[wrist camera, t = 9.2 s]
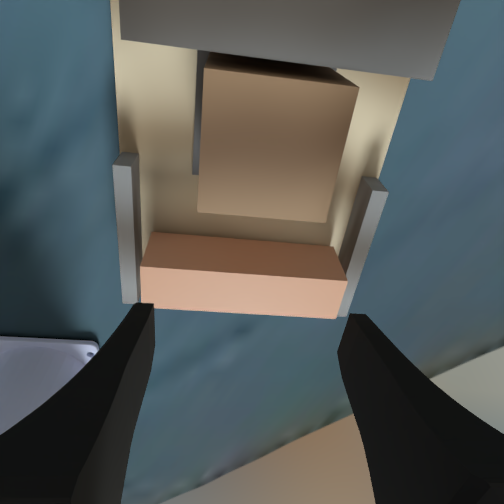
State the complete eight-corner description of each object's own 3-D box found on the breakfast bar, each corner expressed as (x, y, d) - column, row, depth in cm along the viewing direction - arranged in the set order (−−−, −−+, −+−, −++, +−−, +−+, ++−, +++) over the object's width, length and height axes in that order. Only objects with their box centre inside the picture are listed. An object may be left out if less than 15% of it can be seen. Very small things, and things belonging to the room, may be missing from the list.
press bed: (335, 285, 25) (363, 359, 20) (132, 271, 24) (105, 346, 19) (425, -8, 17) (514, -11, 11) (114, -57, 15) (54, -86, 10)
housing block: (304, 174, 19) (325, 223, 15) (204, 164, 19) (197, 212, 15) (326, 65, 17) (359, 87, 12) (210, 50, 16) (203, 67, 12)
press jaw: (323, 281, 23) (335, 318, 20) (152, 269, 22) (141, 307, 19) (333, 246, 22) (348, 281, 19) (151, 231, 21) (139, 266, 18)
